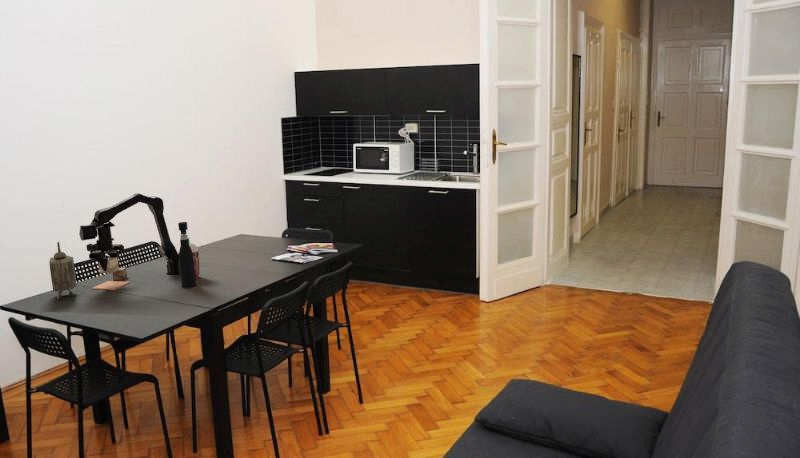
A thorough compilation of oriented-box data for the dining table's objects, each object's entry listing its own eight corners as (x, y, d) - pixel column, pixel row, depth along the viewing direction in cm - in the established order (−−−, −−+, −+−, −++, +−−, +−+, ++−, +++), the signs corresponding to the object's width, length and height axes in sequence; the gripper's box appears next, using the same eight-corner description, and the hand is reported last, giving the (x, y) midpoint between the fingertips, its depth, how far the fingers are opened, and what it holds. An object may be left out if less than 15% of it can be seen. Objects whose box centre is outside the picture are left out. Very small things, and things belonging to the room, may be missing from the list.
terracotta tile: (129, 282, 332) (129, 281, 332) (114, 289, 321) (114, 288, 321) (107, 282, 335) (107, 281, 335) (91, 289, 324) (91, 288, 323)
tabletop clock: (56, 293, 319) (48, 240, 314) (77, 290, 322) (70, 238, 318) (54, 301, 306) (46, 246, 301) (77, 298, 309) (69, 243, 304)
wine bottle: (183, 288, 318) (176, 224, 312) (180, 285, 323) (174, 222, 318) (197, 286, 321) (191, 222, 315) (194, 283, 326) (188, 220, 320)
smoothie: (205, 276, 339) (201, 236, 335) (193, 280, 331) (189, 239, 327) (191, 275, 342) (187, 235, 338) (180, 279, 335) (175, 238, 331)
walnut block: (127, 277, 344) (126, 267, 343) (123, 279, 339) (122, 269, 338) (117, 277, 344) (115, 267, 343) (113, 280, 339) (112, 270, 338)
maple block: (118, 269, 329) (117, 257, 328) (111, 273, 323) (109, 260, 322) (107, 269, 330) (106, 257, 329) (99, 272, 324) (98, 260, 323)
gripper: (102, 232, 334) (106, 264, 337) (76, 241, 316) (81, 274, 319) (122, 232, 332) (126, 264, 335) (98, 241, 314) (102, 274, 317)
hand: (109, 269), depth 326 cm, fingers closed on maple block, 6 cm apart
